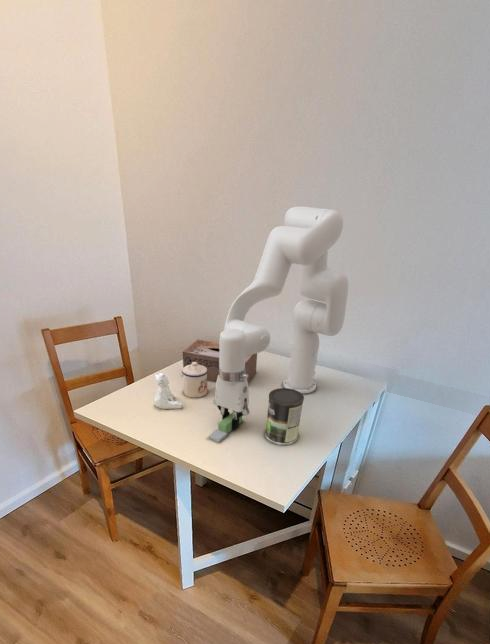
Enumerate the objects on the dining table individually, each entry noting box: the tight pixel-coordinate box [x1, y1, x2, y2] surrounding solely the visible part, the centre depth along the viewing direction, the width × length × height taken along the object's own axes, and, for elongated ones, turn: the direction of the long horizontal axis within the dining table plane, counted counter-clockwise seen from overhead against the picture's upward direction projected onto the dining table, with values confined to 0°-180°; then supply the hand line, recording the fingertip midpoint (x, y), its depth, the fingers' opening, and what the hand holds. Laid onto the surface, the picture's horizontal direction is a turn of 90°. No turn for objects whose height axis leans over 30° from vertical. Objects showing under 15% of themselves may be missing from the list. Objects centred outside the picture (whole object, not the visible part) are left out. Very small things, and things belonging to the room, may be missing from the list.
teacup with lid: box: [181, 362, 208, 398], centre depth 140 cm, size 12×9×12 cm
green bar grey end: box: [208, 411, 243, 443], centre depth 122 cm, size 14×4×4 cm, turn 147°
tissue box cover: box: [182, 339, 258, 384], centre depth 152 cm, size 26×14×10 cm, turn 70°
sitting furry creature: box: [153, 372, 182, 410], centre depth 131 cm, size 10×9×12 cm
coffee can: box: [264, 387, 305, 446], centre depth 117 cm, size 10×10×14 cm
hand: (230, 425), depth 124 cm, fingers closed on green bar grey end, 2 cm apart
